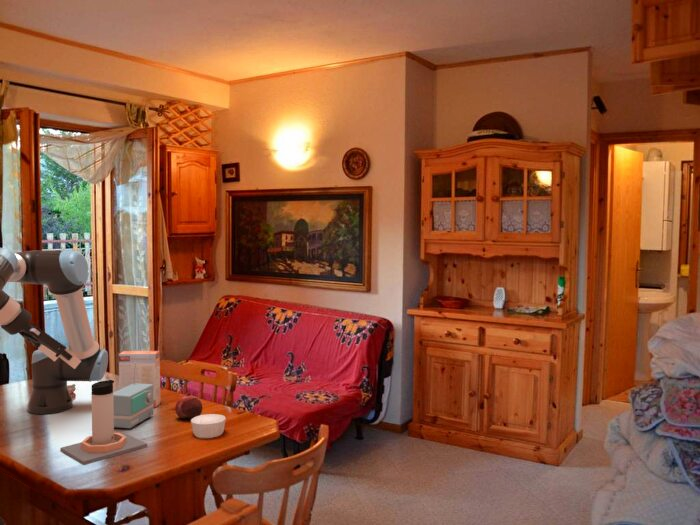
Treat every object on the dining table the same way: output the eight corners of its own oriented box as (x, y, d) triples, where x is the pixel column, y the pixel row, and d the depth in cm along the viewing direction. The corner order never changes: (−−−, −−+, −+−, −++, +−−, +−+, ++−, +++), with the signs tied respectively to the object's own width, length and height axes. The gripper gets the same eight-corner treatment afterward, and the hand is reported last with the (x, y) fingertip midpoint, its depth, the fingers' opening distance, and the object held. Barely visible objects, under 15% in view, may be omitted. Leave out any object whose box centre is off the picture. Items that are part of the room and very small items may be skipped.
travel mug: (118, 445, 192) (117, 381, 191) (98, 451, 187) (97, 385, 186) (109, 440, 196) (108, 378, 195) (88, 446, 191) (87, 382, 190)
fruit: (199, 422, 218) (199, 394, 217) (172, 422, 218) (172, 394, 217) (205, 414, 227) (205, 387, 226) (179, 414, 227) (179, 387, 226)
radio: (133, 431, 208) (132, 372, 207) (108, 429, 210) (107, 371, 209) (156, 416, 224) (156, 362, 223) (134, 415, 226) (133, 361, 225)
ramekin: (185, 433, 206) (185, 417, 206) (215, 426, 214) (215, 411, 213) (201, 442, 198) (200, 426, 198) (231, 435, 205) (231, 419, 205)
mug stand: (60, 451, 190) (60, 441, 189) (122, 434, 204) (121, 425, 204) (83, 464, 179) (83, 454, 179) (147, 446, 194) (147, 437, 193)
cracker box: (161, 403, 240) (160, 350, 239) (155, 408, 234) (155, 353, 233) (125, 403, 240) (124, 349, 239) (119, 407, 234) (118, 353, 233)
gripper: (-16, 321, 176) (40, 364, 189) (17, 332, 160) (77, 379, 172) (4, 301, 180) (58, 345, 192) (38, 310, 163) (95, 357, 175)
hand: (67, 361), depth 182 cm, fingers open, 13 cm apart
